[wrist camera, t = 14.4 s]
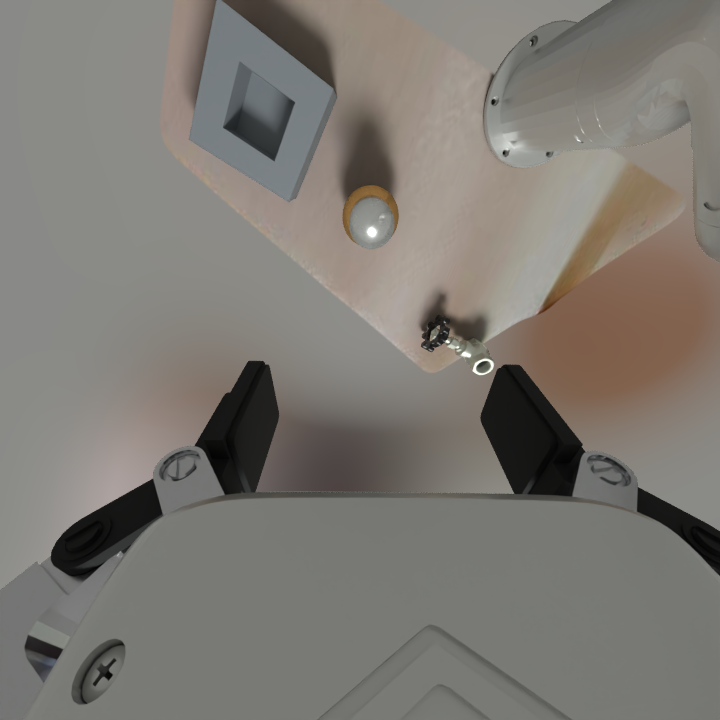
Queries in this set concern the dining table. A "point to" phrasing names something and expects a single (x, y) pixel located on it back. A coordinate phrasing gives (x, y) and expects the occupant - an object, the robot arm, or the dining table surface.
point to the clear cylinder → (370, 216)
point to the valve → (458, 346)
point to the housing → (258, 105)
